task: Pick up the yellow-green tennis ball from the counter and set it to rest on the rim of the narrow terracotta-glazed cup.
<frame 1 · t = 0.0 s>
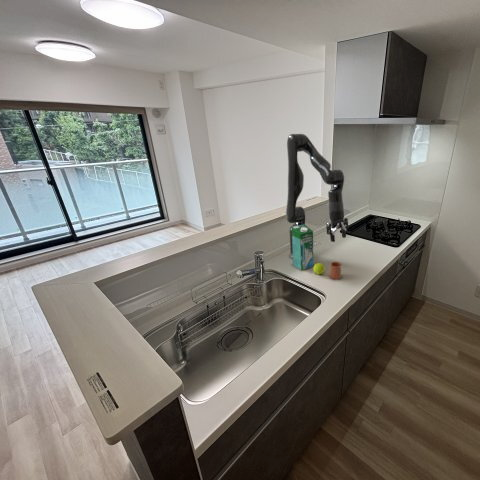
hand: (338, 239, 138), 22 cm above the worktop, tool pointing down, fingers open, 8 cm apart
ball: (319, 268, 149), point 3 cm above the worktop
cup: (335, 276, 146), on the worktop
milk carton: (303, 265, 160), on the worktop
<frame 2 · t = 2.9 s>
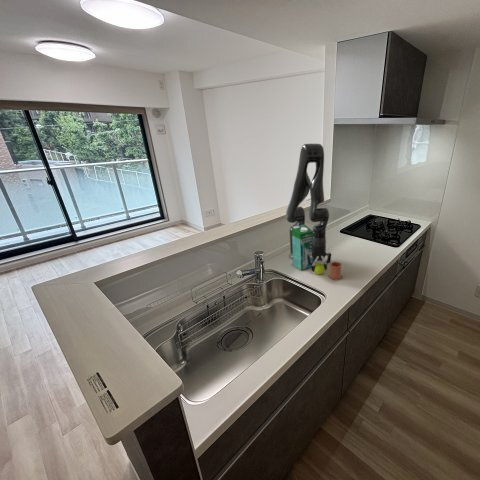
hand: (319, 270, 149), 2 cm above the worktop, tool pointing down, fingers closed on ball, 6 cm apart
ball: (319, 268, 149), point 3 cm above the worktop, touching gripper
everything else where it was.
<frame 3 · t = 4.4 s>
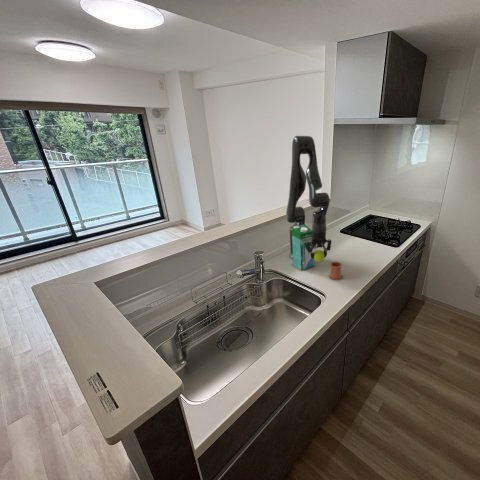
hand: (318, 257, 146), 10 cm above the worktop, tool pointing down, fingers closed on ball, 6 cm apart
ball: (318, 255, 146), point 11 cm above the worktop, touching gripper
everything else where it was.
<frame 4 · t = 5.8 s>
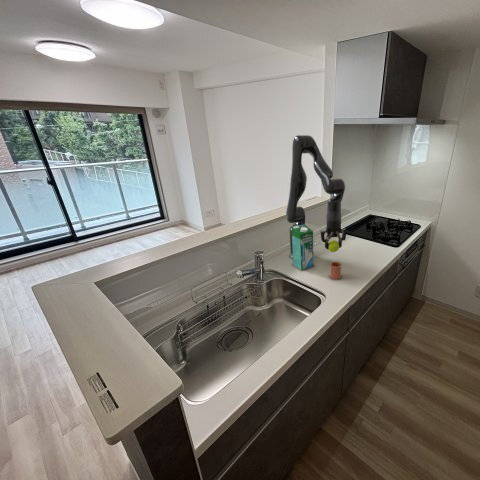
hand: (333, 248, 140), 18 cm above the worktop, tool pointing down, fingers closed on ball, 6 cm apart
ball: (333, 246, 140), point 19 cm above the worktop, touching gripper
everything else where it was.
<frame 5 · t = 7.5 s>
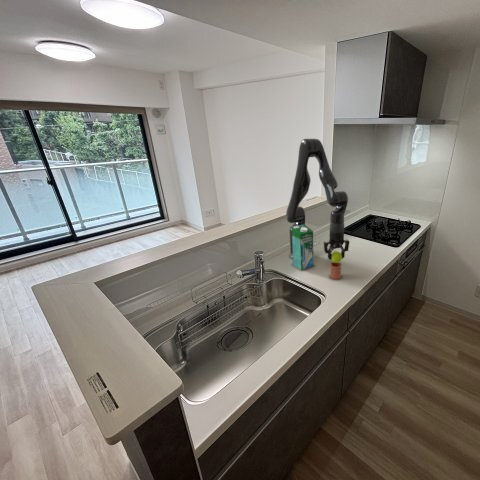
hand: (336, 258, 142), 11 cm above the worktop, tool pointing down, fingers closed on ball, 6 cm apart
ball: (336, 257, 141), point 12 cm above the worktop, touching gripper
everything else where it was.
when the fingers open (9 cm above the worktop, at t = 8.9 s): ball stays where it is, resting on cup.
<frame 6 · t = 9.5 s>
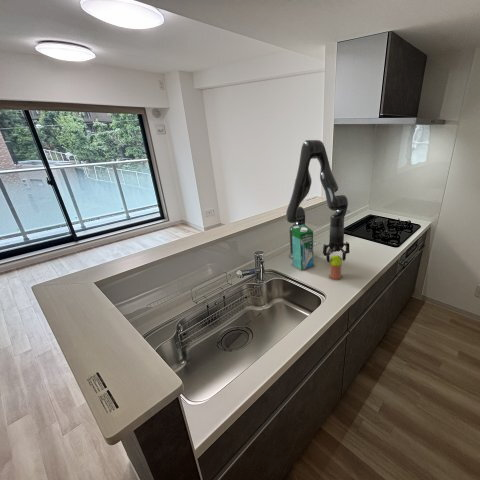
hand: (335, 261, 142), 10 cm above the worktop, tool pointing down, fingers open, 8 cm apart
ball: (335, 261, 142), point 10 cm above the worktop, touching cup
everything else where it was.
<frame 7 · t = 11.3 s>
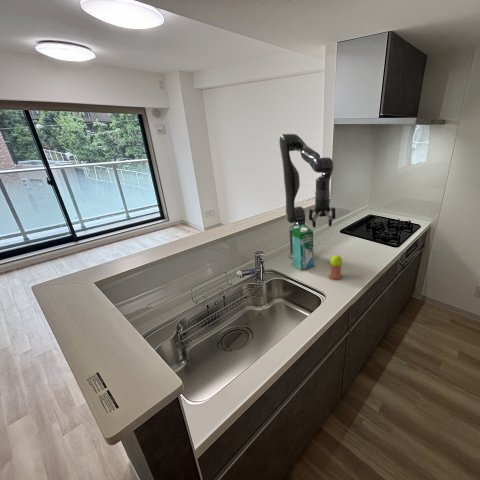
hand: (321, 226, 142), 28 cm above the worktop, tool pointing down, fingers open, 8 cm apart
nothing on the worktop moved.
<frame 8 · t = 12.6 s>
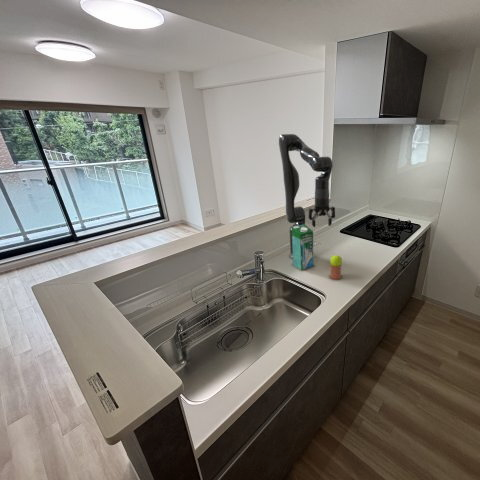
hand: (321, 226, 142), 28 cm above the worktop, tool pointing down, fingers open, 8 cm apart
nothing on the worktop moved.
at the end: ball 0.0 cm off-centre on the cup, point 10.0 cm above the cup's base; the gripper is holding nothing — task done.
